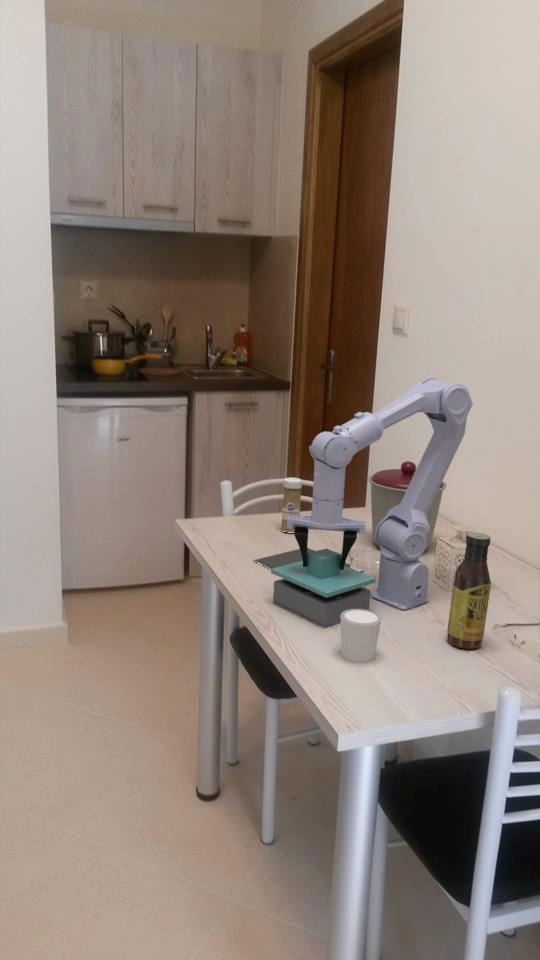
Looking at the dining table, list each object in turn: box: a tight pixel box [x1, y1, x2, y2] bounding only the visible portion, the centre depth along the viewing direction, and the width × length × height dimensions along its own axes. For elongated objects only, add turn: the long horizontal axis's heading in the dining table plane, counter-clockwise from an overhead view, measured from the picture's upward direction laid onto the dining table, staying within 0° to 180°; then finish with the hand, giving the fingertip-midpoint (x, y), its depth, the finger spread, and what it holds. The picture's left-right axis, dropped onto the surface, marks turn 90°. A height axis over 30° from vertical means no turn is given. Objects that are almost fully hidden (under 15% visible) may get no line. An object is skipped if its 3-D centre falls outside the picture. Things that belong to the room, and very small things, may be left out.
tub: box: [272, 578, 372, 629], centre depth 154 cm, size 14×12×4 cm
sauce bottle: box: [446, 531, 492, 650], centre depth 139 cm, size 6×6×20 cm
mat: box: [253, 547, 351, 570], centre depth 176 cm, size 18×16×1 cm
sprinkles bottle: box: [280, 477, 303, 532], centre depth 199 cm, size 5×5×14 cm
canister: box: [367, 460, 447, 552], centre depth 190 cm, size 18×18×21 cm
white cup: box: [340, 609, 383, 664], centre depth 134 cm, size 7×7×7 cm
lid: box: [270, 548, 377, 598], centre depth 152 cm, size 15×13×6 cm
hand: (323, 566), depth 152 cm, fingers closed on lid, 6 cm apart
